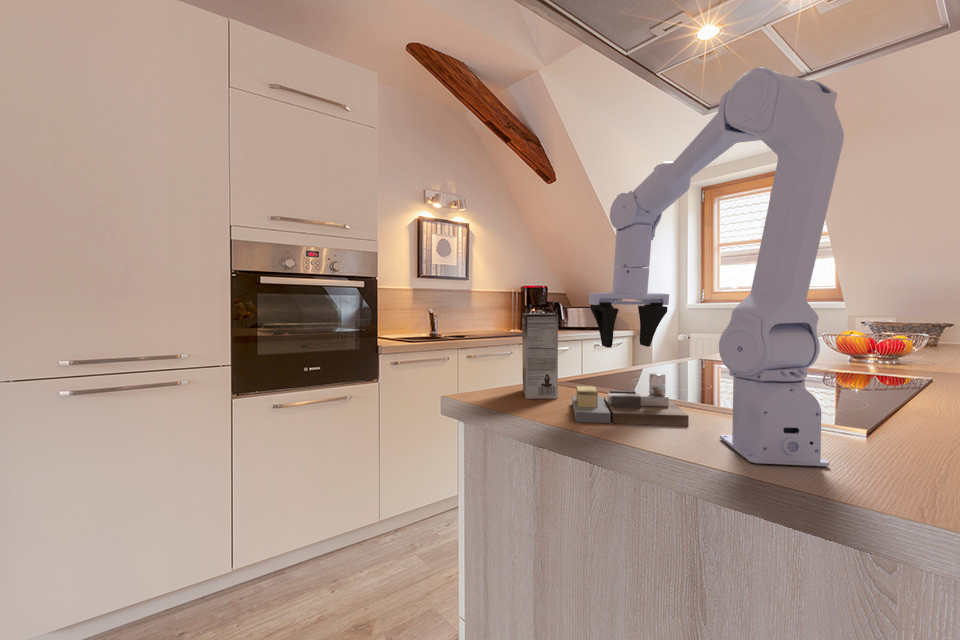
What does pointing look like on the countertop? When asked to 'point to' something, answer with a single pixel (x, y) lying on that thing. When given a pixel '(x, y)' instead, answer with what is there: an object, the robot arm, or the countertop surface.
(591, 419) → the jamb keeper
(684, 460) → the countertop surface
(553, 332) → the coffee box
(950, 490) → the countertop surface
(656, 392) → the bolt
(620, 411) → the door panel
